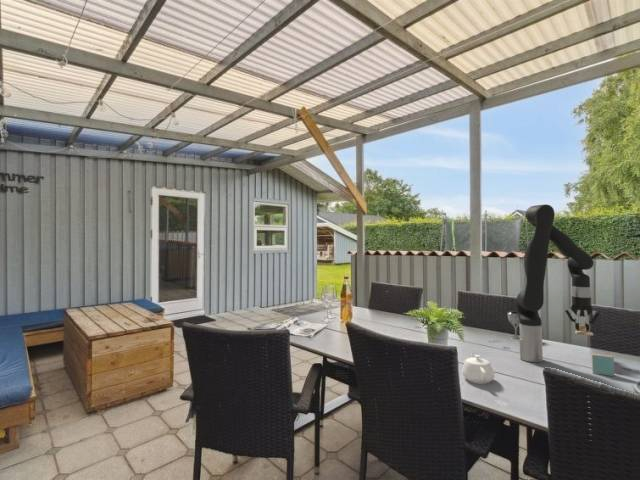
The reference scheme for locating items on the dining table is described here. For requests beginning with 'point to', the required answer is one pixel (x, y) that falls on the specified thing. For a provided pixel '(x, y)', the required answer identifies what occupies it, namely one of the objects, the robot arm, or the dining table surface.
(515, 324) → the wine glass
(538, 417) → the dining table surface
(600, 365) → the tile
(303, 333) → the dining table surface
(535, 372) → the dining table surface
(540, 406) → the dining table surface
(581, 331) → the turner
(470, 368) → the teapot
